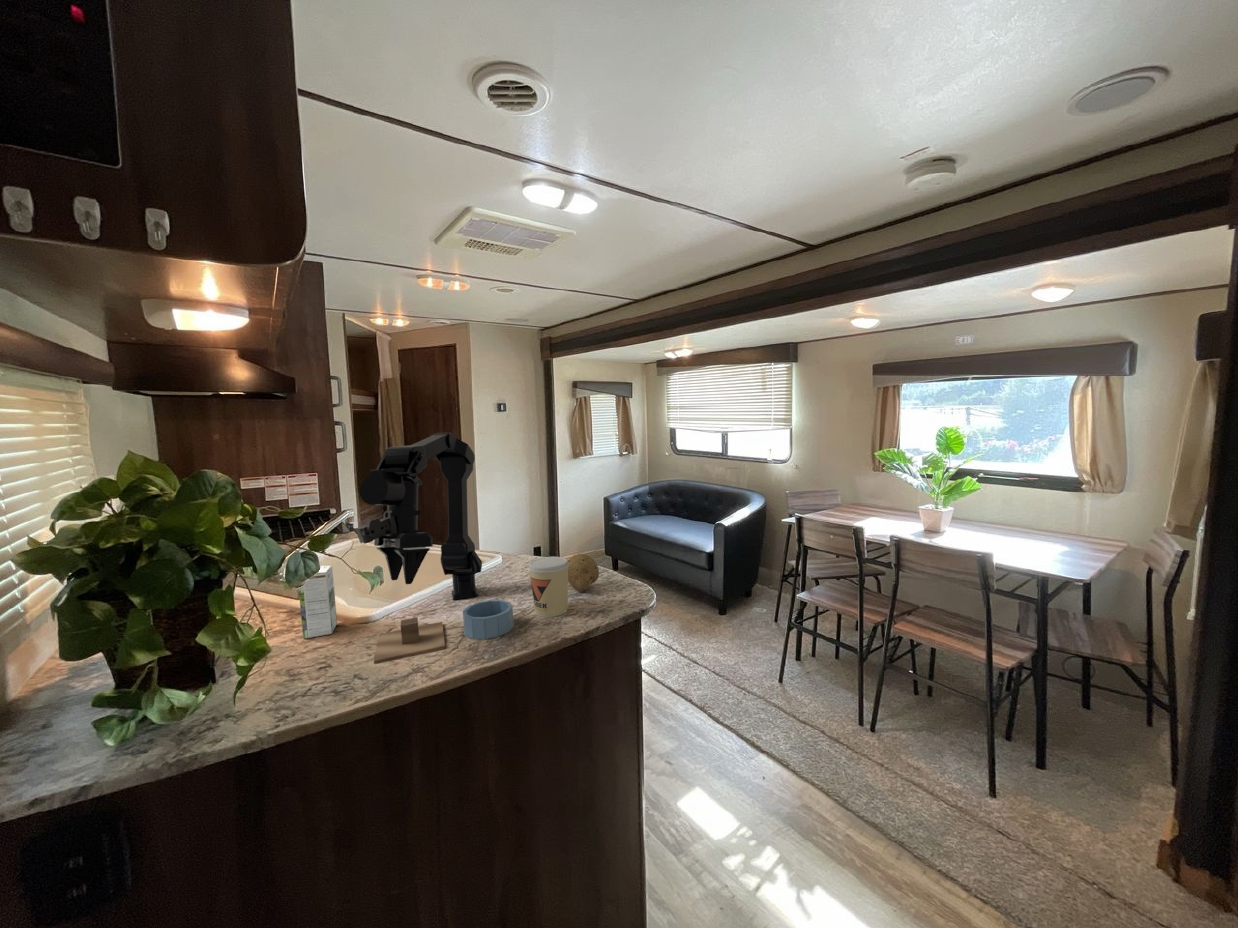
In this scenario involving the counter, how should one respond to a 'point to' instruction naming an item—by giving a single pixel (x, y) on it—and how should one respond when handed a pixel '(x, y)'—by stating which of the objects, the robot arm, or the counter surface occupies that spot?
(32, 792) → the counter surface
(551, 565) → the coffee cup
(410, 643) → the cover board
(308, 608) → the syrup box
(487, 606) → the bowl
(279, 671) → the counter surface
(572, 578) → the natural sponge
